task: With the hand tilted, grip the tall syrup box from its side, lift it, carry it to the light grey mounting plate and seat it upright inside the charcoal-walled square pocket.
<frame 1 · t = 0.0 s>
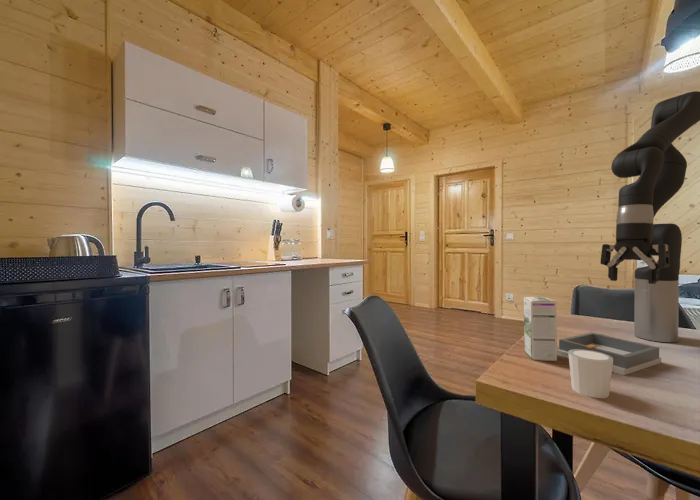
hand: (631, 282, 86), 17 cm above the table, tool pointing down, fingers open, 8 cm apart
syrup box: (539, 357, 78), on the table
white cup: (589, 392, 60), on the table
pocket plate: (606, 358, 76), on the table
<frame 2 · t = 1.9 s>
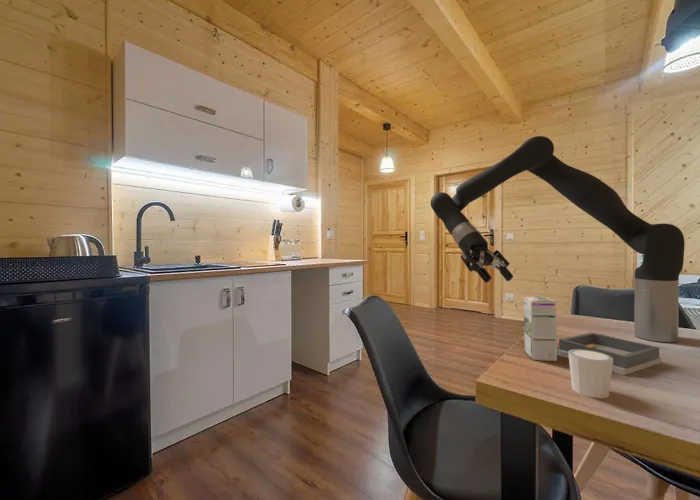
hand: (499, 279, 88), 18 cm above the table, tool tilted 45°, fingers open, 8 cm apart
nothing on the table moved.
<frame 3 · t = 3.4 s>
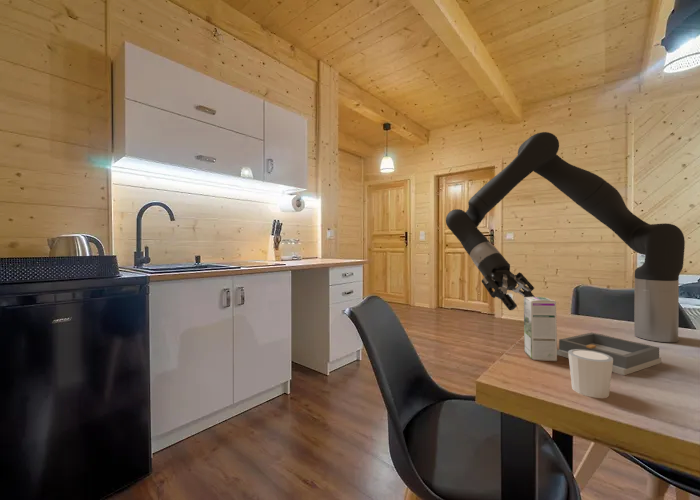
hand: (525, 307, 82), 12 cm above the table, tool tilted 45°, fingers open, 8 cm apart
nothing on the table moved.
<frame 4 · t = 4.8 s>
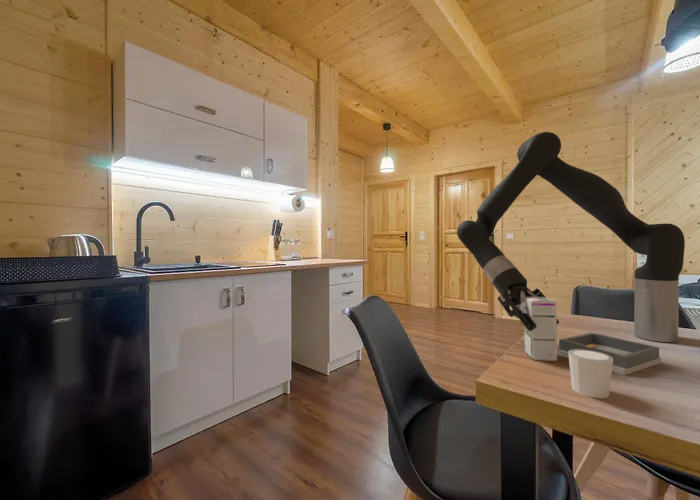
hand: (544, 326, 77), 8 cm above the table, tool tilted 45°, fingers closed on syrup box, 8 cm apart
syrup box: (539, 357, 78), on the table, touching gripper
everything else where it was.
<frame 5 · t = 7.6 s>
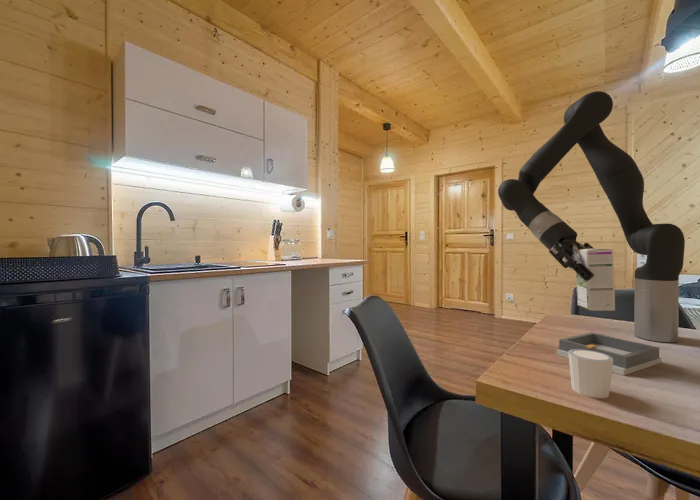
hand: (600, 277, 75), 20 cm above the table, tool tilted 45°, fingers closed on syrup box, 8 cm apart
syrup box: (595, 309, 76), point 12 cm above the table, touching gripper
everything else where it was.
when the fingers open (10 cm above the table, at t = 10.2 s): syrup box stays where it is, resting on pocket plate.
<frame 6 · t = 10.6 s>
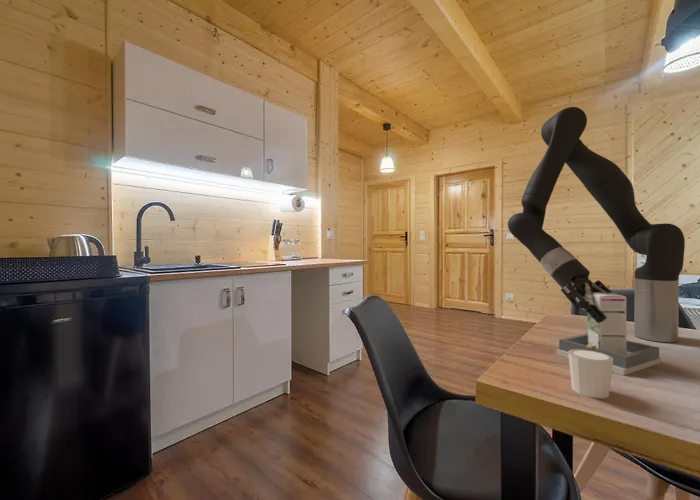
hand: (613, 318, 75), 10 cm above the table, tool tilted 45°, fingers open, 8 cm apart
syrup box: (605, 354, 76), point 1 cm above the table, touching gripper, pocket plate
everything else where it was.
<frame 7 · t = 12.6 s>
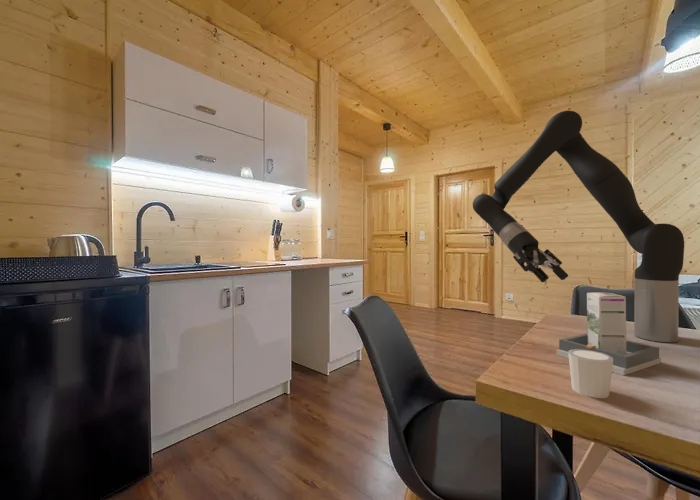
hand: (555, 279, 88), 18 cm above the table, tool tilted 45°, fingers open, 8 cm apart
syrup box: (605, 354, 76), point 1 cm above the table, touching pocket plate
everything else where it was.
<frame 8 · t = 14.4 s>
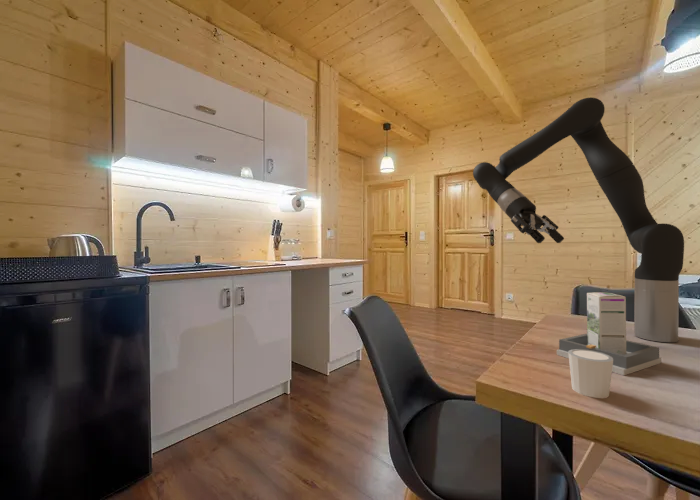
hand: (551, 241, 90), 29 cm above the table, tool tilted 45°, fingers open, 8 cm apart
nothing on the table moved.
at the end: syrup box inside the target area on the pocket plate (0.3 cm from its centre), point 1.0 cm above the pocket plate's base; syrup box tilted 0°; the gripper is holding nothing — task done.
